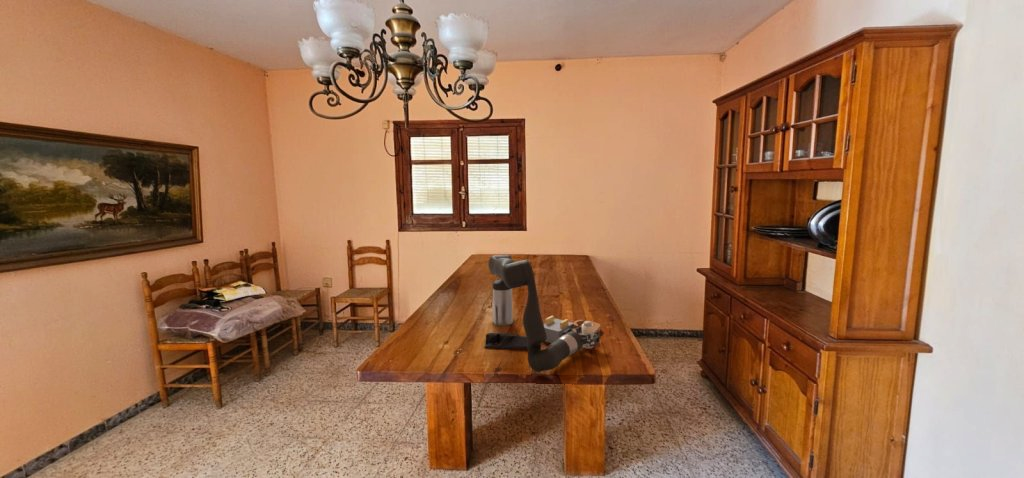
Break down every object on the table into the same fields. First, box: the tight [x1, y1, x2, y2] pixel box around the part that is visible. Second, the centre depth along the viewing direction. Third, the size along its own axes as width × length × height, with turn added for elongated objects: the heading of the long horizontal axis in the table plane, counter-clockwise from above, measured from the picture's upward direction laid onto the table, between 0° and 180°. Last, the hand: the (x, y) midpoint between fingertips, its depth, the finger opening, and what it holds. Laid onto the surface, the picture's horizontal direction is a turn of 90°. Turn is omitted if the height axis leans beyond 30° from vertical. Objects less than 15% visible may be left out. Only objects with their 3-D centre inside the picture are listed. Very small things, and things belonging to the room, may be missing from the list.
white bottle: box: [582, 320, 595, 349], centre depth 161 cm, size 5×5×10 cm
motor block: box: [543, 315, 574, 344], centre depth 172 cm, size 15×10×8 cm, turn 140°
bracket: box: [572, 319, 601, 334], centre depth 174 cm, size 18×8×7 cm, turn 150°
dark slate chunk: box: [484, 332, 528, 350], centre depth 167 cm, size 15×22×5 cm
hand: (589, 331), depth 162 cm, fingers open, 8 cm apart
